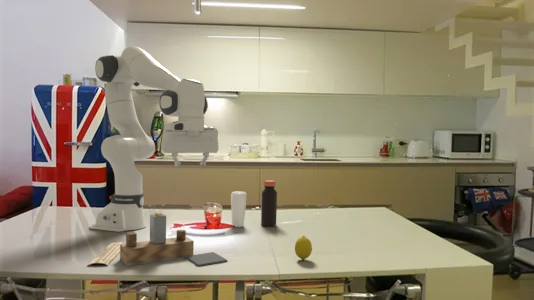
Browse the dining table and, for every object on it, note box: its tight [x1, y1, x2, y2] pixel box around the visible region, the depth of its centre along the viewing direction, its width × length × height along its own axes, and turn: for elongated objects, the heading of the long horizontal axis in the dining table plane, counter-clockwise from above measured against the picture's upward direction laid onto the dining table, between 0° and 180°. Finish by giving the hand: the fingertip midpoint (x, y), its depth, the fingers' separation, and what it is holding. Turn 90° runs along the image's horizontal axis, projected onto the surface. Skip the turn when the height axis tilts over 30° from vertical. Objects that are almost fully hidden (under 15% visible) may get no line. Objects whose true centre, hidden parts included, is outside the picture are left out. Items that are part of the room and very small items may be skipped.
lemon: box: [294, 235, 313, 261], centre depth 139 cm, size 6×6×8 cm
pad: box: [185, 251, 228, 267], centre depth 137 cm, size 10×10×1 cm
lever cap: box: [149, 211, 167, 245], centre depth 137 cm, size 4×4×10 cm
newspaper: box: [87, 241, 126, 267], centre depth 140 cm, size 24×7×2 cm, turn 5°
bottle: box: [260, 179, 278, 228], centre depth 189 cm, size 7×7×20 cm
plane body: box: [119, 229, 195, 267], centre depth 137 cm, size 22×7×9 cm, turn 123°
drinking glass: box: [230, 190, 247, 228], centre depth 186 cm, size 7×7×15 cm
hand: (190, 166), depth 147 cm, fingers open, 8 cm apart
